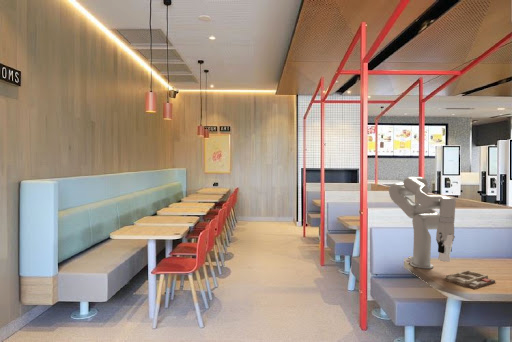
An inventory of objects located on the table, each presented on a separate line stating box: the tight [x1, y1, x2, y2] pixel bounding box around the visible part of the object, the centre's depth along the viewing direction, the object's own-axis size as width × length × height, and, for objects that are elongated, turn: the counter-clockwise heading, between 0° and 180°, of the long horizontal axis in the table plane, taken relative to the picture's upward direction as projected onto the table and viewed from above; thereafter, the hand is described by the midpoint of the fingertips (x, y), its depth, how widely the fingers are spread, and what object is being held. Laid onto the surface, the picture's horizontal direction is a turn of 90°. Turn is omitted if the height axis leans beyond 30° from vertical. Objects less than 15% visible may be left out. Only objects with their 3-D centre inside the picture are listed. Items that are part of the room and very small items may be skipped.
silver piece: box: [437, 234, 454, 263], centre depth 201 cm, size 7×7×15 cm
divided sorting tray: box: [444, 270, 496, 290], centre depth 191 cm, size 15×21×3 cm
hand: (444, 251), depth 201 cm, fingers closed on silver piece, 6 cm apart
